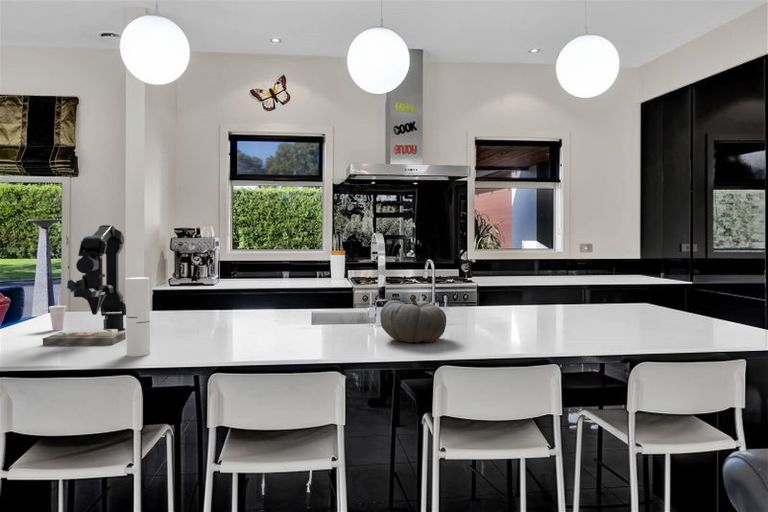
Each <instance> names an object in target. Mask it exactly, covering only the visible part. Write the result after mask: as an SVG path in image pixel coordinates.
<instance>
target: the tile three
mask: <svg viewBox="0 0 768 512" xmlns="http://www.w3.org/2000/svg"><path fill="white" fill-rule="evenodd" d="M97 332H98V336H115V335H117V334H118V332H119V331H118V329H104V328H102V329H101V330H99V331H97Z"/></svg>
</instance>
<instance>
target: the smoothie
mask: <svg viewBox="0 0 768 512" xmlns="http://www.w3.org/2000/svg"><path fill="white" fill-rule="evenodd" d="M66 310H67V305H60V295H57V305H51V306H48V311H49V315H50V321H51V327H52V328H51V329H52V331H55V332H56V331H63V330H64V327H65V326H64V325H65V324H64V323H65V315H66Z"/></svg>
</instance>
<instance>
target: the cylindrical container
mask: <svg viewBox="0 0 768 512" xmlns="http://www.w3.org/2000/svg"><path fill="white" fill-rule="evenodd" d="M150 293H151V292H150V277H144V276H142V277H137V276H136V277H126V278H125V305H126V315H125V316H126V317H125V320H126V321H125V325H126V327H125V333H126V357H127V356H128V357H134V358H135V357H144V356H148V355H151V307H150V306H151V305H150V304H151V301H150V300H151V299H150Z"/></svg>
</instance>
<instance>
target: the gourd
mask: <svg viewBox="0 0 768 512" xmlns="http://www.w3.org/2000/svg"><path fill="white" fill-rule="evenodd" d="M410 300H411V301H412V303H404V302H403V301H399V300H396V299H395V300H394V299H393V300H389V301H387V302H386V303H384V305H383V306H382V308H381V309H380V313H379V315H380V316H379V317H380V318H379V320H380V323H381V327H382V329H383V330H384V332H385V333H386V334H387V335H388V336H389V337H390V338H392V339H394V340H396V341H402V342H404V343H405V342H407V343H420V342H425V343H430V342H434V341H437V340H438V339H440V338H441V337H442V336H443V334H444V333H445V331H446V327H447V316H446V313H445V311H443V309H441V308H439V307H437V306H436V305H435V304H432V303H430V302H428V301H426V300H425V301H424V300H419V301H416V298H415V296H414V295H411V296H410Z"/></svg>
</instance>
